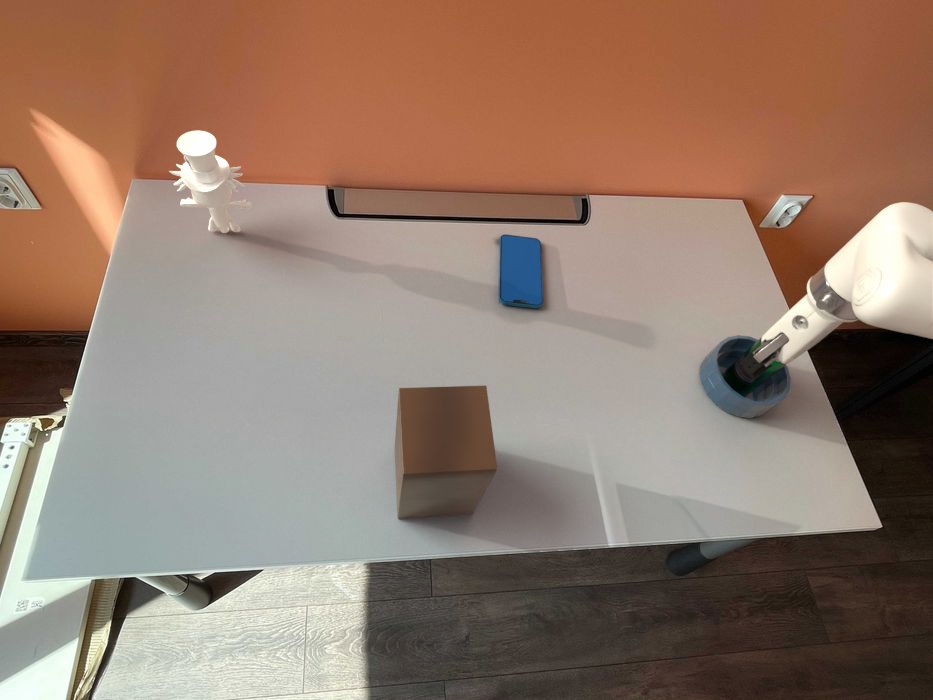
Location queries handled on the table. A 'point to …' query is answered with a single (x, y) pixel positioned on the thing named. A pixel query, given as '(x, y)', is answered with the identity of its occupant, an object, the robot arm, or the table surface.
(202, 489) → the table surface
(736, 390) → the soda can
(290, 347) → the table surface
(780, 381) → the bowl
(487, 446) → the plinth
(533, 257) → the smartphone
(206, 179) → the figurine
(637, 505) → the table surface
